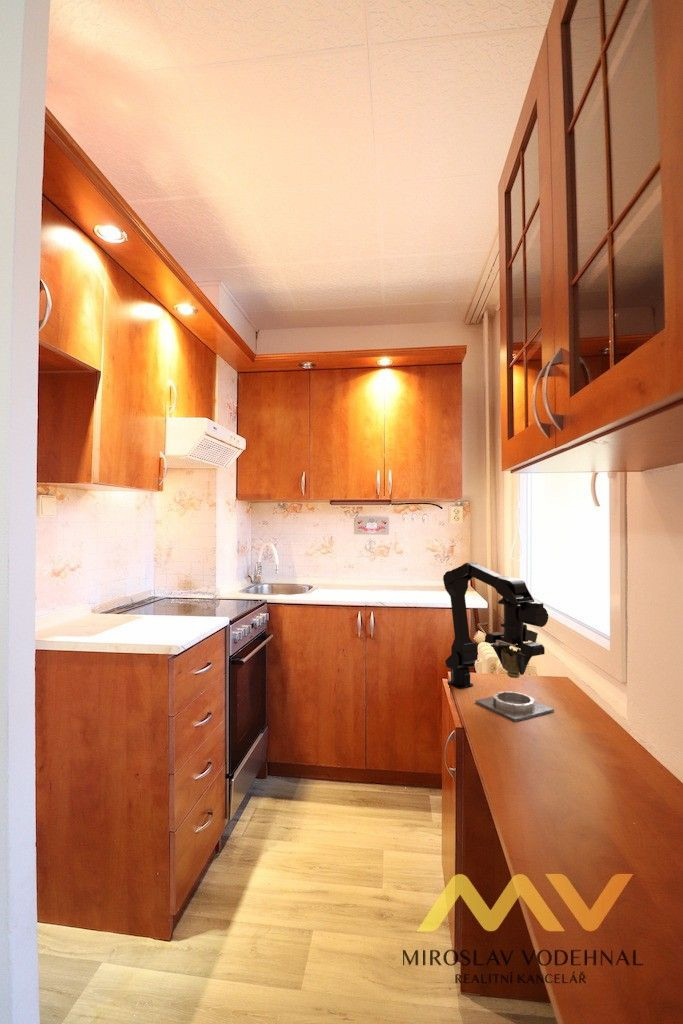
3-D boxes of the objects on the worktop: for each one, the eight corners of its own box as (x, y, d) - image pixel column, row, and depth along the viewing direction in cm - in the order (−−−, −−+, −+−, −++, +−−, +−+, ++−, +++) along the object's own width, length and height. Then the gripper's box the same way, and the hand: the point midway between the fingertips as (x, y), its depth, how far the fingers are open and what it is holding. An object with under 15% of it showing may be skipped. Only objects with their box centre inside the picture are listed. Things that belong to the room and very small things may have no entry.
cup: (528, 675, 148) (528, 649, 148) (523, 682, 141) (523, 655, 141) (503, 671, 152) (503, 646, 152) (498, 678, 145) (498, 651, 145)
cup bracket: (475, 702, 150) (475, 693, 150) (512, 694, 157) (512, 685, 157) (515, 722, 135) (515, 712, 135) (553, 711, 143) (553, 702, 143)
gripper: (557, 624, 142) (557, 676, 142) (509, 612, 159) (509, 660, 158) (531, 627, 137) (531, 682, 137) (483, 615, 154) (483, 664, 153)
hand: (513, 671), depth 146 cm, fingers closed on cup, 6 cm apart
